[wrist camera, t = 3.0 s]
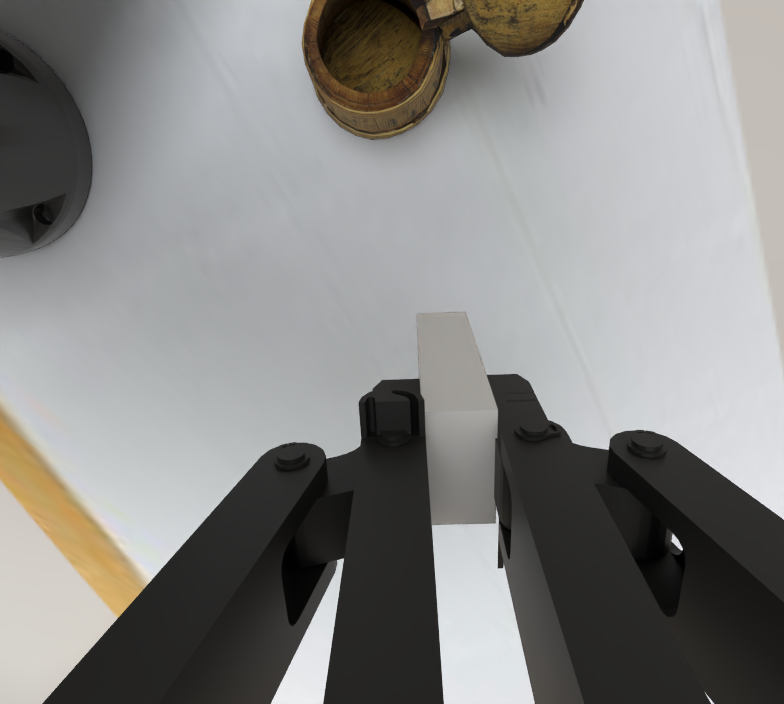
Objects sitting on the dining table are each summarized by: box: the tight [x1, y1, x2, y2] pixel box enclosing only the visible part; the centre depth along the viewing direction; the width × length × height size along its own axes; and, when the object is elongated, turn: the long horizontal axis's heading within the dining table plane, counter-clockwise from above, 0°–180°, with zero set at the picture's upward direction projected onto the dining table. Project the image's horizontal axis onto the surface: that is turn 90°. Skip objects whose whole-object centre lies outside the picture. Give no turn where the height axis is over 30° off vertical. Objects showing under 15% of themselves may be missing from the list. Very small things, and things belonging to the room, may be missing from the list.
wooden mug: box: [302, 0, 584, 140], centre depth 28 cm, size 9×14×18 cm, turn 105°
